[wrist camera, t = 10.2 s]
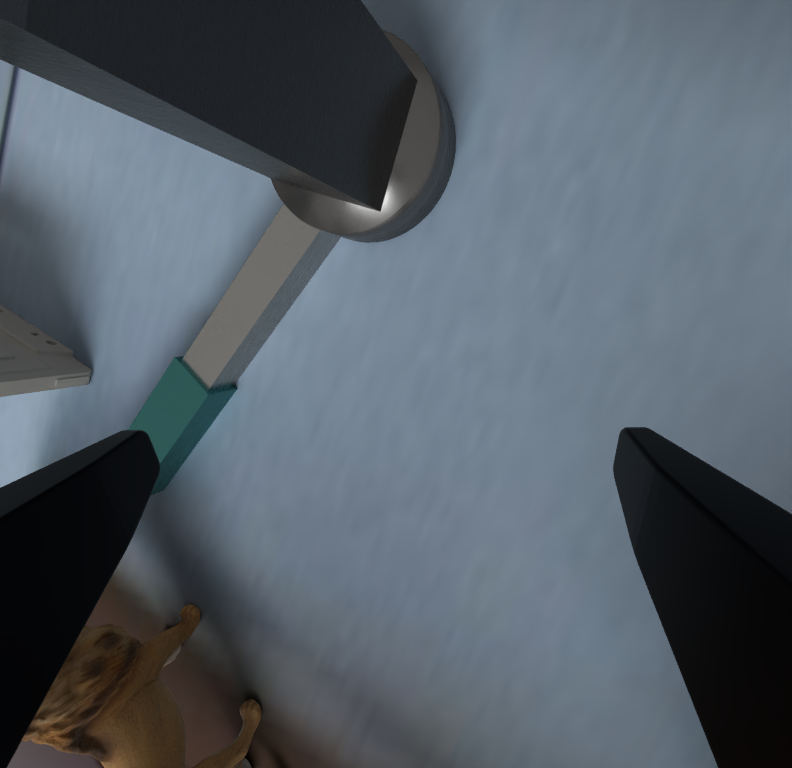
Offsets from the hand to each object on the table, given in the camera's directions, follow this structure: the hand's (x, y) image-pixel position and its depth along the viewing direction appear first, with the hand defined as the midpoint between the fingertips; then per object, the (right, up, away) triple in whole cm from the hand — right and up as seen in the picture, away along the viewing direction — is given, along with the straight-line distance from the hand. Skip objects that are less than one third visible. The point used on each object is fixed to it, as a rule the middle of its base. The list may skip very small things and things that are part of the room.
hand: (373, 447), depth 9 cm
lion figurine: (-10, -15, +18) cm, 26 cm away
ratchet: (-6, +5, +14) cm, 16 cm away
